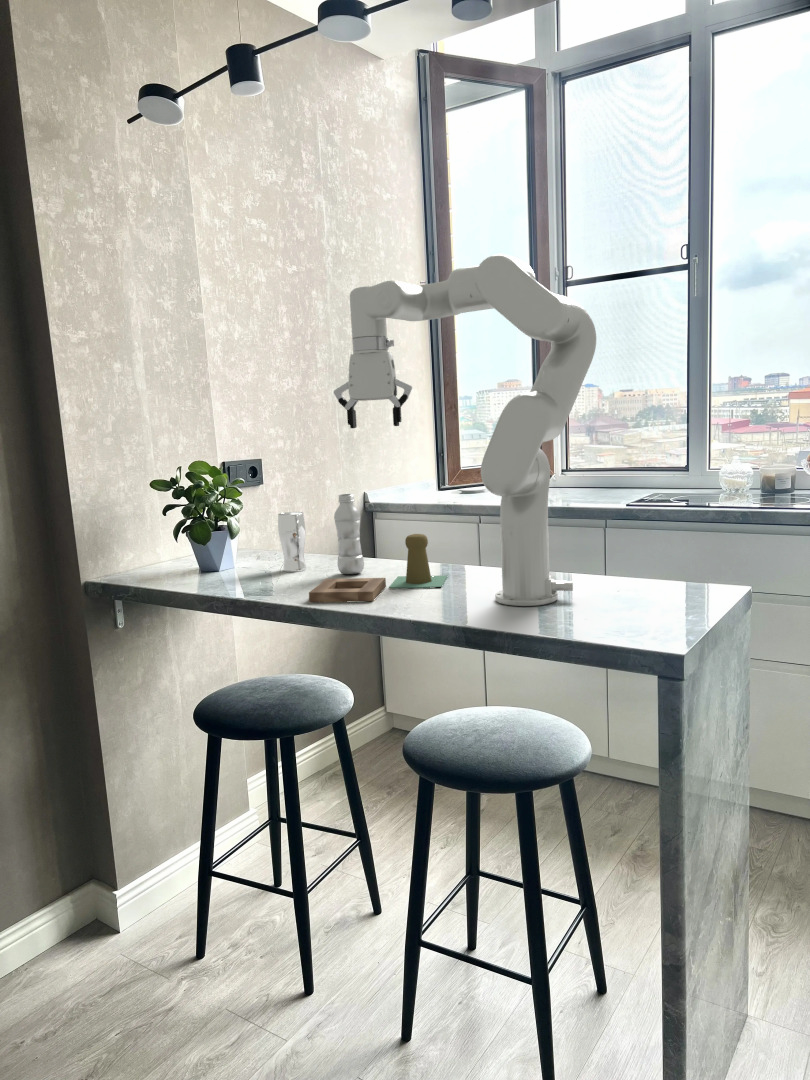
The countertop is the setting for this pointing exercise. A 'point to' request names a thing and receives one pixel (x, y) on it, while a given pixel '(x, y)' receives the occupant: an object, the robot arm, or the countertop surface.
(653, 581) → the countertop surface
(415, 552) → the cork
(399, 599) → the countertop surface
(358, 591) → the socket
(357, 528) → the plastic bottle
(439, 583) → the mat
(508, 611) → the countertop surface
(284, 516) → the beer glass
